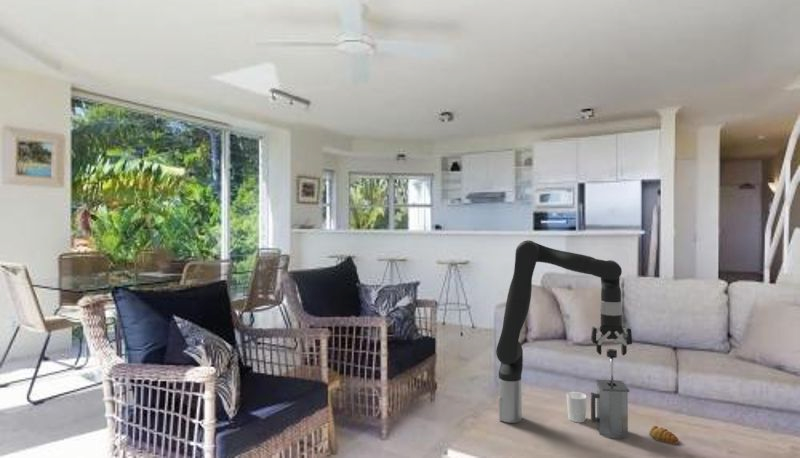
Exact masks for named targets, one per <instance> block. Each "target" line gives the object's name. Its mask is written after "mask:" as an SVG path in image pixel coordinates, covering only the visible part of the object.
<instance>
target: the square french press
mask: <svg viewBox="0 0 800 458" xmlns="http://www.w3.org/2000/svg"><path fill="white" fill-rule="evenodd" d="M595 382H596V392H590V420H591V423H593V424H594V423H595V424H596V425H597V427H596V429H597V432H598V433H599V435H600V436H603V437H605V438H608V439H610V440H611V439H614V440H623V439H625V438H626V437H628V436H629V417H628V416H629V412H628V411H629V404H628V403H629V397H628V395H629V394H628V393H630V389H629V388H628V387H627V385H626V384H625V383H624V382H623V381H622V380H617V379H616V380H615V379H613V385H615V386H609V385H611V379H595Z"/></svg>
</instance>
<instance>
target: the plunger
mask: <svg viewBox="0 0 800 458" xmlns="http://www.w3.org/2000/svg"><path fill="white" fill-rule="evenodd" d="M617 352H618V351H617V349H614V348H607V349H606V357H607V358H610V360H609V363H610V365H609V366H610V367H609V369H610V372H609V374H610V379H609V380H611V385H609V386H615V385H613V380H614V359H616V358H617V357H618V353H617Z"/></svg>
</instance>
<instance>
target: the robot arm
mask: <svg viewBox="0 0 800 458" xmlns="http://www.w3.org/2000/svg"><path fill="white" fill-rule="evenodd" d="M514 257H515V258H514V268H513V269H514V270H513V274H512V279H511V281H510V284H509V288H508V292H507V298H506V303H505V309H504V315H503V320H502V321H503V323H502V329H501V333H500V336H499V339H498V343H497V345H496V350H495V351H496V352H495V354H496V357H497V360H499V362H500V366H499V369H498V417H499V419H498V420H499V422H504V423H507V424H517V423H521V422H522V420H523V418H522V417H523V408H522V407H523V406H522V405H523V403H522V401H523V400H522V391H523V390H522V373H523V368H524V367H523V365H524V364H523V360H524V359H523V358H524V353H523V351H524V350H523V346H522V344H521V342H520V335H521V331H522V329H523V326H524V325H525V322H526V320H527V316H528V313H529V311H530V304H531V298H532V288H533V286H532V282H533V281H532V280H533V275H534V271H535V268H536V265H537V263H545V264H550V265H553V266H557V267H558V268H559V267H560V268H561V269H565V270H569V271H571V272H574V273H575V272H576V273H580V274H586V275H591V276H595V277H597V278H600V281H601V283H600V284H601V288H600V298H601V299H600V300H601V301H600V309H599V312H600V327H595V326H592V327H591V334H590V337H591V339H590V340H591V342H592V343H593V344H595V345H596V352H597V353H598V355H600V356H602V343H603V342H604V341H605V340H619V342H620V343H621V344H620V345H621V347H620V349H621V351H620V352H621V355H622V356H626V355H627V348H628V347H627V346H628V345H633V339H632V338H633V337H632V335H633V334H632V329H631V328H630V327H628V326H627V327H626V328H625V327H623V306H622V291H621V290H622V289H621V286H620V281H621V280H620V279H621V275H622V267H621V265H620V264H619V263H618V262H617V261H615V260H611V259H610V260H603V259H598V258H595V257H592V256H589V255H587V254H586V255H585V254H580V253H576V252H570V251H566V250H565V251H564V250H559V249H556V248H551V247H549V246H545V245H542V244H540V243H537V242H535V241H533V240H524V241H522V242H520V243H519V244H518V245H517V246H516V249H515V256H514ZM599 332H600V333H601V334H600V335H599V336H598V339H597V334H598V333H599ZM623 333H624V334H625V335H626V340H625V339H624V338H623V337H622V334H623Z"/></svg>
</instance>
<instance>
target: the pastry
mask: <svg viewBox="0 0 800 458" xmlns="http://www.w3.org/2000/svg"><path fill="white" fill-rule="evenodd" d="M648 435H649V436H650V437H651V438H652V439H653V440H656V441H658V442H661V443H665V444H669V445H676V444H678V443H679V437H677V436H676V435H675V433H672V431H669V430H668V429H666V428H664V427H659V426H657V425H653V426H652V427H651V428H650V429H649V434H648Z"/></svg>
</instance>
